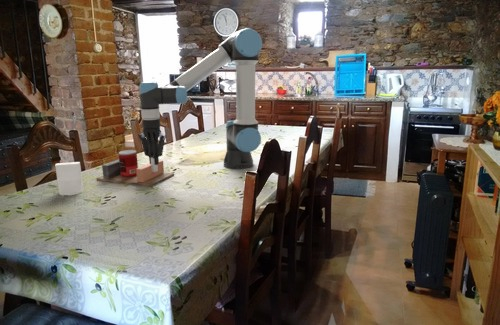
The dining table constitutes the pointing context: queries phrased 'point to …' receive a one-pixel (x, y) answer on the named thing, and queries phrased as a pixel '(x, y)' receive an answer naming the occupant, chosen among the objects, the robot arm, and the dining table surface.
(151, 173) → the block
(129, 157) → the canned food
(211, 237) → the dining table surface
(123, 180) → the vise base
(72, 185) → the white upright block
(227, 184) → the dining table surface
